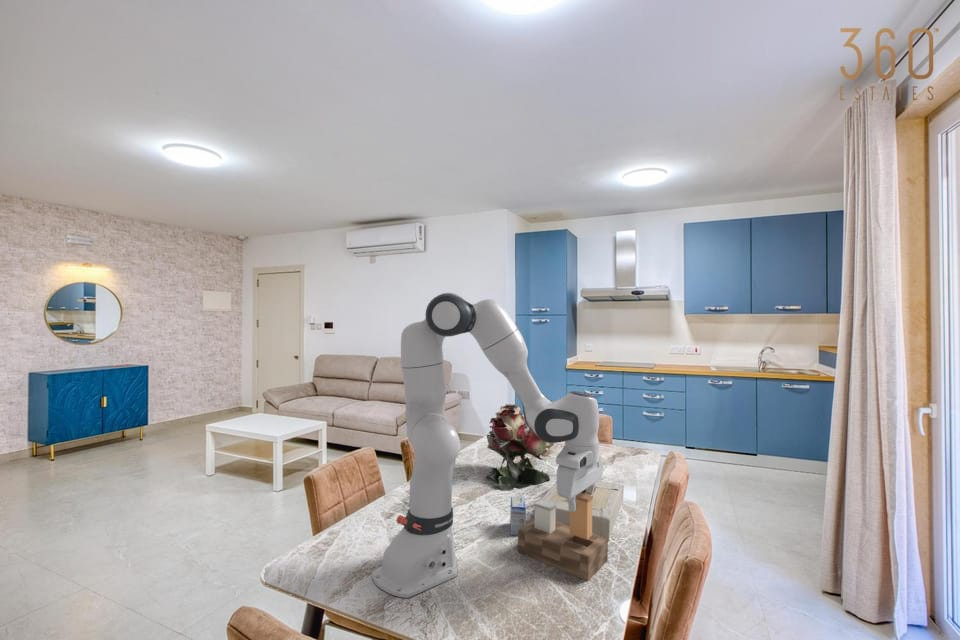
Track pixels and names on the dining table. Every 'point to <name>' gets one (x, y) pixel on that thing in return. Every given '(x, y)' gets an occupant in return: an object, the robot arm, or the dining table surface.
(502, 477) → the rose bouquet
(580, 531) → the orange plug
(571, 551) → the block
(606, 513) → the pale hollow square block
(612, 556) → the dining table surface
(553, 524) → the cream plug
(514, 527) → the medicine box
